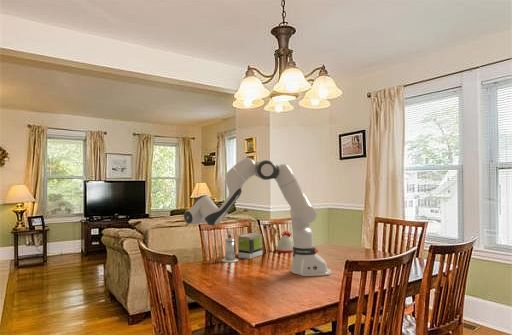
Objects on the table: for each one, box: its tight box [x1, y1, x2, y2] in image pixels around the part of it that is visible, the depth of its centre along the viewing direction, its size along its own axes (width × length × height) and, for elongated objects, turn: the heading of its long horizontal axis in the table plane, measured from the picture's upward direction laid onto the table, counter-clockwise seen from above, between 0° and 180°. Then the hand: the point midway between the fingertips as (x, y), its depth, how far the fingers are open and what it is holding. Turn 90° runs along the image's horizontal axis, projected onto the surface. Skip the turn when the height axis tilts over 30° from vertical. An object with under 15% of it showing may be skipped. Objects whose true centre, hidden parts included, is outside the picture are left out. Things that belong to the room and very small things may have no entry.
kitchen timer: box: [276, 230, 294, 254], centre depth 254 cm, size 14×14×15 cm
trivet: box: [221, 257, 239, 264], centre depth 223 cm, size 11×11×1 cm
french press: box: [224, 234, 236, 261], centre depth 225 cm, size 8×6×16 cm
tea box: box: [237, 232, 263, 260], centre depth 237 cm, size 15×10×15 cm
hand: (219, 213), depth 214 cm, fingers open, 8 cm apart
